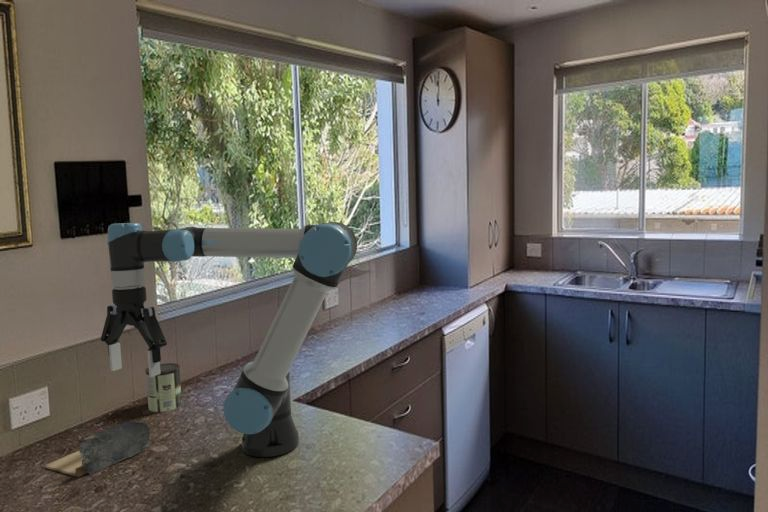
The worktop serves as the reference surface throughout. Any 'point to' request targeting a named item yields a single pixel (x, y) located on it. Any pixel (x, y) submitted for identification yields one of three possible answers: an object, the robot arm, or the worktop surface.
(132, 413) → the worktop surface
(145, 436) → the stone slab
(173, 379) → the coffee can
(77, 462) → the board
